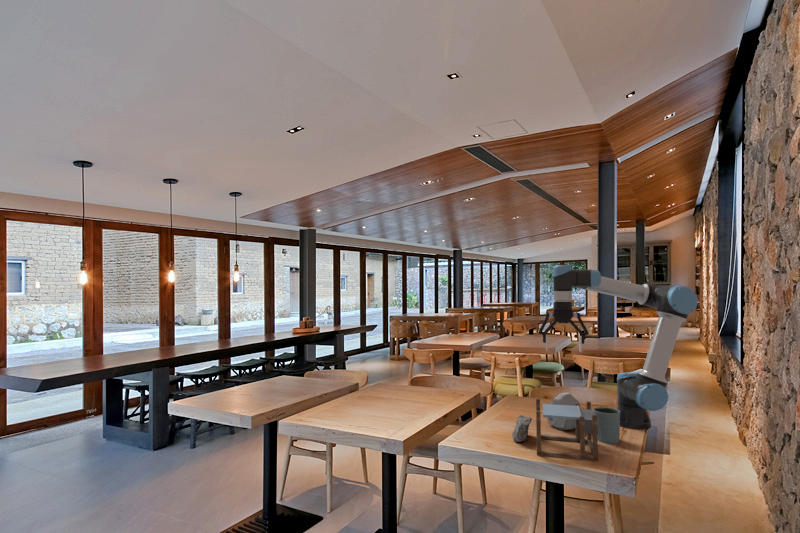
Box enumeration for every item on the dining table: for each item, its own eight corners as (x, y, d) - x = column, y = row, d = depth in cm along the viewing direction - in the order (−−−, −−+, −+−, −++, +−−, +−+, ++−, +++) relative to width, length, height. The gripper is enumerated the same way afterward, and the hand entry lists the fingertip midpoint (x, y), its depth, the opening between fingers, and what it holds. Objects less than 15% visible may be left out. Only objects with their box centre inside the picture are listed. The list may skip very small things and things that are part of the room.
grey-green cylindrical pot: (618, 445, 186) (618, 414, 187) (591, 441, 192) (590, 411, 192) (622, 438, 195) (621, 408, 195) (596, 434, 200) (595, 405, 201)
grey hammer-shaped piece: (592, 421, 189) (592, 406, 189) (598, 435, 172) (597, 418, 173) (542, 418, 194) (542, 403, 194) (543, 430, 178) (543, 414, 178)
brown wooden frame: (591, 441, 191) (590, 401, 191) (597, 460, 170) (596, 415, 171) (536, 437, 196) (536, 398, 197) (536, 455, 176) (536, 411, 177)
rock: (525, 445, 185) (527, 419, 187) (504, 441, 189) (506, 415, 191) (535, 441, 199) (536, 416, 201) (515, 437, 203) (517, 413, 205)
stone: (566, 422, 218) (565, 389, 218) (586, 429, 206) (586, 394, 207) (546, 425, 213) (545, 391, 214) (565, 433, 202) (565, 397, 202)
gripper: (592, 301, 204) (593, 350, 203) (532, 300, 210) (533, 348, 210) (595, 301, 196) (596, 353, 196) (532, 301, 203) (533, 351, 202)
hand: (563, 351), depth 203 cm, fingers open, 13 cm apart
